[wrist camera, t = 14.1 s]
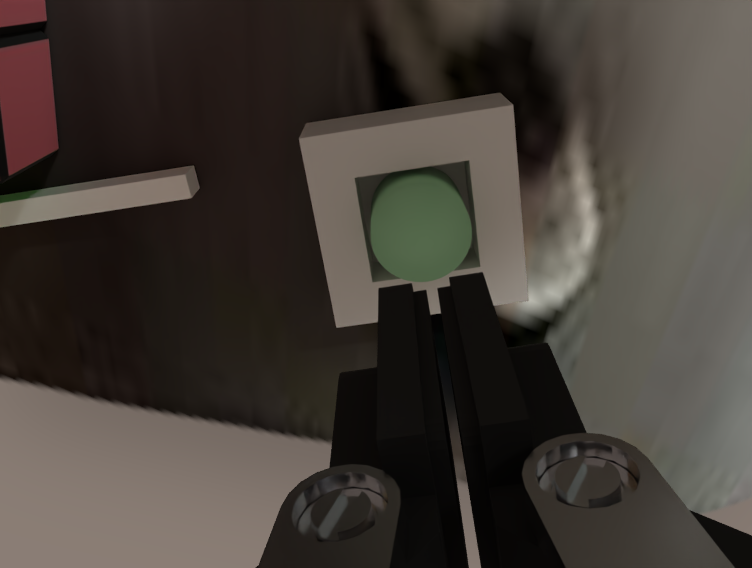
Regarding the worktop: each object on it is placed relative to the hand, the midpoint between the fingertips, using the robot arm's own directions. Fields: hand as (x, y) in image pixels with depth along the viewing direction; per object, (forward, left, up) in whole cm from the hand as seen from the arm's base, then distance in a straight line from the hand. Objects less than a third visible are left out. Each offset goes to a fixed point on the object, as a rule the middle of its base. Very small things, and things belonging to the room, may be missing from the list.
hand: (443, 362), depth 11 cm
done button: (0, +3, -18) cm, 19 cm away
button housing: (0, +3, -20) cm, 20 cm away
